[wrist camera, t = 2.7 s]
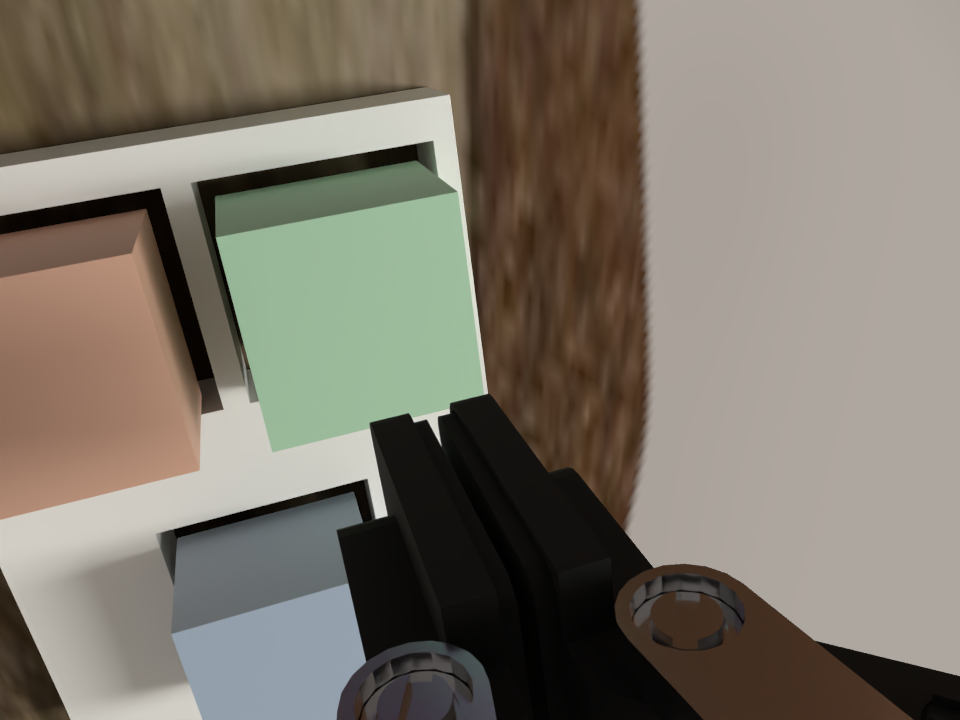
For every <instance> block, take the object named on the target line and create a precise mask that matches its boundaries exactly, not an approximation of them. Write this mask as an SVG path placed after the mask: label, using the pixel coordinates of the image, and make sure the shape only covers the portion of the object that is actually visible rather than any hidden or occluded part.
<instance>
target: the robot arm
mask: <svg viewBox="0 0 960 720" xmlns="http://www.w3.org/2000/svg"><path fill="white" fill-rule="evenodd" d="M438 428H439V434H440V441H441V445H440V443H439V441H438V439H437V437H436V435H435V434H434V432H433V430H432V428H431V426H430V424H429V422H428V421H427V419H426V420H422V421H418V422H414V421H413V419H412V417H411V415H410V414H409V413H407V414H403V415H399V416H394V417H390V418H386V419H382V420H378V421H374V422H370V431H371V437H372V442H373V447H374V451H375V456H376V461H377V466H378V471H379V476H380V481H381V486H382V491H383V496H384V501H385V505H386V510H387V515H388V516H386V517H382V518H378V519H374V520H371V521H367V522H363V523H360V524H356V525H352V526H348V527H345V528H341V529H337V530H336V531H337V536H338V540H339V544H340V549H341V553H342V558H343V562H344V567H345V571H346V575H347V580H348V584H349V589H350V593H351V598H352V602H353V606H354V611H355V615H356V620H357V624H358V628H359V633H360V637H361V642H362V646H363V651H364V655H365V659H366V663H365V664H364V665H363V666H361V667H360V668H359V669H358V670H357V671H356V672H355V673H354V674H353V675H352V676H351V678H350V679H349V681H348V683H347V684H346V686H345V688H344V689H343V691H342V692H341V696H340V701H339V705H338V709H337V720H960V676H957V675H953V674H949V673H944V672H940V671H936V670H932V669H928V668H924V667H920V666H916V665H912V664H908V663H904V662H900V661H895V660H891V659H887V658H883V657H879V656H874V655H871V654H867V653H863V652H859V651H854V650H850V649H846V648H842V647H838V646H834V645H830V644H825V643H821V642H818V641H814V640H813V639H812V638H811V637H809V636H808V635H807V634H806V633H804V632H803V631H802V630H800V629H799V628H798V627H797V626H796V625H794V624H793V623H792V622H791V621H789V620H788V619H787V618H786V617H784V616H783V615H782V614H781V613H779V612H778V611H777V610H776V609H774V608H773V607H771V606H770V605H769V604H768V603H767V602H766V601H764V600H763V599H762V598H761V597H759V596H758V595H757V594H756V593H754V592H753V591H752V590H750V589H749V588H748V587H747V586H746V585H744V584H743V583H741V582H740V581H738V580H736V579H735V578H733V577H731V576H730V575H728V574H727V573H724V572H721V571H718V570H715V569H712V568H709V567H706V566H698V565H690V564H675V565H663V566H660V567H657V568H653V567H652V565H651V564H650V563H649V562H648V560H647V559H646V558H645V557H644V555H643V554H642V553H641V552H640V550H639V549H638V548H637V547H636V545H635V544H634V543H633V542H632V540H631V539H630V538H629V537H628V535H627V534H626V533H625V532H624V530H623V529H622V528H621V527H620V525H619V524H618V523H617V522H616V520H615V519H614V518H613V517H612V516H611V514H610V513H609V512H608V511H607V509H606V508H605V507H604V506H603V504H602V503H601V502H600V501H599V499H598V498H597V497H596V496H595V494H594V493H593V492H592V491H591V489H590V488H589V487H588V486H587V484H586V483H585V482H584V481H583V479H582V478H581V477H580V476H579V474H578V473H577V472H576V471H575V470H574V469H572V468H564V469H560V470H557V471H553V472H549V473H548V472H547V470H546V469H545V468H544V466H543V465H542V464H541V462H540V461H539V459H538V458H537V457H536V455H535V454H534V453H533V451H532V450H531V449H530V447H529V446H528V445H527V443H526V442H525V440H524V439H523V438H522V436H521V435H520V434H519V432H518V431H517V430H516V428H515V427H514V426H513V424H512V423H511V421H510V420H509V419H508V417H507V416H506V415H505V413H504V412H503V411H502V409H501V408H500V407H499V405H498V404H497V402H496V401H495V400H494V398H493V397H492V396H491V395H490V394H485V395H481V396H477V397H473V398H468V399H464V400H460V401H456V402H452V403H450V414H446V415H442V416H438Z"/></svg>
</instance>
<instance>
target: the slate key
mask: <svg viewBox="0 0 960 720" xmlns="http://www.w3.org/2000/svg"><path fill="white" fill-rule="evenodd" d="M360 523H363V522H362V518H361V515H360V511H359V508H358V505H357V501H356V498H355V494H354V492H350V493H346V494H343V495H339V496H335V497H331V498H327V499H324V500H320V501H316V502H312V503H308V504H305V505H301V506H297V507H293V508H289V509H286V510H282V511H278V512H274V513H270V514H267V515H263V516H259V517H255V518H251V519H248V520H244V521H240V522H236V523H232V524H229V525H225V526H221V527H217V528H213V529H210V530H206V531H202V532H198V533H194V534H191V535H187V536H183V537H179V538H177V552H176V567H175V582H174V597H173V613H172V628H171V635H172V638H173V641H174V644H175V646H176V649H177V652H178V654H179V657H180V660H181V663H182V665H183V668H184V671H185V674H186V676H187V679H188V682H189V684H190V687H191V690H192V693H193V695H194V698H195V701H196V703H197V706H198V709H199V712H200V714H201V717H202V720H337V709H338V705H339V701H340V696H341V692H342V691H343V689H344V688H345V686H346V684H347V683H348V681H349V679H350V678H351V676H352V675H353V674H354V673H355V672H356V671H357V670H358V669H359V668H360V667H361V666H363V665H364V664H365V663H366V659H365V655H364V651H363V646H362V642H361V637H360V633H359V628H358V624H357V620H356V615H355V611H354V606H353V602H352V598H351V593H350V589H349V584H348V580H347V575H346V571H345V567H344V562H343V558H342V553H341V549H340V544H339V540H338V536H337V531H336V530H337V529H341V528H345V527H348V526H352V525H356V524H360Z"/></svg>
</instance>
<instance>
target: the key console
mask: <svg viewBox="0 0 960 720" xmlns="http://www.w3.org/2000/svg"><path fill="white" fill-rule="evenodd" d="M411 144H416V148H417V155H418V162H419V163H420V164H422V165H423V166H424V167H426V168H427V169H428V170H430V171H431V172H432V173H434V174H435V175H436V176H438V177H439V178H440V179H442V180H443V181H444V182H446V183H447V184H448V185H450V186H451V187H452V188H454V189H455V190H456V191H458V196H459V204H460V212H461V220H462V227H463V235H464V243H465V251H466V258H467V266H468V274H469V281H470V289H471V297H472V305H473V312H474V320H475V328H476V335H477V343H478V351H479V359H480V366H481V374H482V382H483V390H484V395H485V394H488V391H487V383H486V376H485V368H484V360H483V352H482V344H481V336H480V328H479V321H478V313H477V305H476V297H475V289H474V281H473V273H472V266H471V258H470V250H469V242H468V234H467V226H466V218H465V211H464V203H463V195H462V187H461V179H460V171H459V163H458V156H457V148H456V140H455V132H454V124H453V116H452V108H451V101H450V95H449V94H447V93H444V92H441V91H439V90H436V89H433V88H431V87H423V88H417V89H410V90H404V91H398V92H392V93H385V94H379V95H373V96H366V97H360V98H354V99H347V100H341V101H335V102H329V103H322V104H316V105H310V106H303V107H297V108H291V109H284V110H278V111H272V112H266V113H259V114H253V115H247V116H240V117H234V118H228V119H221V120H215V121H209V122H203V123H196V124H190V125H184V126H177V127H171V128H165V129H158V130H152V131H146V132H140V133H133V134H127V135H121V136H114V137H108V138H102V139H95V140H89V141H83V142H77V143H70V144H64V145H58V146H51V147H45V148H39V149H32V150H26V151H20V152H14V153H7V154H1V155H0V216H2V215H8V214H13V213H19V212H25V211H31V210H36V209H42V208H48V207H54V206H60V205H65V204H71V203H77V202H83V201H88V200H94V199H100V198H106V197H111V196H117V195H123V194H129V193H134V192H140V191H146V190H152V189H157V188H160V189H161V192H162V196H163V199H164V203H165V206H166V210H167V213H168V217H169V220H170V224H171V227H172V231H173V234H174V238H175V241H176V245H177V248H178V252H179V255H180V259H181V262H182V266H183V269H184V273H185V276H186V280H187V283H188V286H189V290H190V293H191V297H192V300H193V304H194V307H195V311H196V314H197V318H198V321H199V325H200V328H201V332H202V335H203V339H204V342H205V346H206V349H207V353H208V356H209V360H210V363H211V367H212V370H213V374H214V377H213V378H208V379H204V380H200V381H198V384H199V388H200V391H201V394H202V400H201V437H200V471H196V472H192V473H188V474H183V475H179V476H175V477H171V478H167V479H163V480H159V481H155V482H151V483H147V484H143V485H139V486H135V487H131V488H127V489H123V490H119V491H115V492H111V493H107V494H103V495H99V496H95V497H91V498H87V499H82V500H78V501H74V502H70V503H66V504H62V505H58V506H54V507H50V508H46V509H42V510H38V511H34V512H30V513H26V514H22V515H18V516H14V517H10V518H6V519H2V520H0V568H1V570H2V572H3V574H4V577H5V579H6V581H7V583H8V585H9V587H10V589H11V592H12V594H13V596H14V598H15V600H16V602H17V605H18V607H19V609H20V611H21V613H22V615H23V617H24V620H25V622H26V624H27V626H28V628H29V630H30V633H31V635H32V637H33V639H34V641H35V643H36V646H37V648H38V650H39V652H40V654H41V656H42V658H43V661H44V663H45V665H46V667H47V669H48V671H49V674H50V676H51V678H52V680H53V682H54V684H55V687H56V689H57V691H58V693H59V695H60V697H61V699H62V702H63V704H64V706H65V708H66V710H67V712H68V715H69V717H70V719H71V720H202V717H201V714H200V712H199V709H198V706H197V703H196V701H195V698H194V695H193V693H192V690H191V687H190V684H189V682H188V679H187V676H186V674H185V671H184V668H183V665H182V663H181V660H180V657H179V654H178V652H177V649H176V646H175V644H174V641H173V638H172V635H171V628H172V613H173V597H174V582H175V567H176V552H177V539H176V536H175V533H174V530H173V529H176V528H180V527H184V526H187V525H191V524H195V523H199V522H203V521H207V520H210V519H214V518H218V517H222V516H226V515H230V514H233V513H237V512H241V511H245V510H249V509H253V508H256V507H260V506H264V505H268V504H272V503H276V502H279V501H283V500H287V499H291V498H295V497H299V496H302V495H306V494H310V493H314V492H318V491H322V490H326V489H329V488H333V487H337V486H341V485H345V484H349V483H352V482H356V481H360V480H364V485H365V489H366V494H367V499H368V503H369V508H370V513H371V518H372V520H374V519H378V518H382V517H386V516H388V515H387V510H386V505H385V501H384V496H383V491H382V486H381V481H380V476H379V471H378V466H377V461H376V456H375V451H374V447H373V442H372V437H371V431H370V428H369V429H365V430H361V431H357V432H353V433H349V434H345V435H341V436H337V437H333V438H329V439H325V440H321V441H317V442H313V443H309V444H305V445H301V446H297V447H293V448H288V449H284V450H280V451H276V452H272V449H271V445H270V441H269V437H268V434H267V430H266V426H265V422H264V418H263V415H262V411H261V407H260V403H259V400H258V396H257V392H256V388H255V384H254V381H253V377H252V373H251V369H249V370H247V369H246V365H245V361H244V358H243V354H242V350H241V346H240V343H239V339H238V335H237V331H236V328H235V324H234V320H233V316H232V313H231V309H230V305H229V301H228V298H227V294H226V290H225V286H224V283H223V279H222V275H221V271H220V268H219V264H218V260H217V256H216V253H215V249H214V245H213V241H212V238H211V234H210V230H209V226H208V223H207V219H206V215H205V211H204V208H203V204H202V200H201V196H200V192H199V189H198V185H197V182H198V181H204V180H209V179H215V178H221V177H227V176H232V175H238V174H244V173H250V172H255V171H261V170H267V169H273V168H278V167H284V166H290V165H296V164H301V163H307V162H313V161H319V160H325V159H330V158H336V157H342V156H348V155H353V154H359V153H365V152H371V151H376V150H382V149H388V148H394V147H399V146H405V145H411ZM446 414H450V409H446V410H442V411H438V412H434V413H430V414H426V415H422V416H418V417H414V418H412V419H413V421H414V422H418V421H422V420H426V419H427V421H428V422H429V424H430V426H431V428H432V430H433V432H434V434H435V435H436V437H437V439H438V441H439V443H440V445H441V441H440V434H439V428H438V416H442V415H446Z"/></svg>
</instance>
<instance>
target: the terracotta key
mask: <svg viewBox="0 0 960 720" xmlns="http://www.w3.org/2000/svg"><path fill="white" fill-rule="evenodd" d="M201 400H202V394H201V391H200V388H199V384H198V381H197V377H196V374H195V371H194V367H193V364H192V361H191V357H190V354H189V351H188V347H187V344H186V340H185V337H184V334H183V330H182V327H181V324H180V320H179V317H178V313H177V310H176V307H175V303H174V300H173V297H172V293H171V290H170V287H169V283H168V280H167V276H166V273H165V270H164V266H163V263H162V260H161V256H160V253H159V249H158V246H157V243H156V239H155V236H154V233H153V229H152V226H151V223H150V219H149V216H148V212H147V209H141V210H136V211H130V212H124V213H119V214H113V215H108V216H102V217H96V218H91V219H85V220H79V221H74V222H68V223H63V224H57V225H51V226H46V227H40V228H35V229H29V230H23V231H18V232H12V233H7V234H1V235H0V520H2V519H6V518H10V517H14V516H18V515H22V514H26V513H30V512H34V511H38V510H42V509H46V508H50V507H54V506H58V505H62V504H66V503H70V502H74V501H78V500H82V499H87V498H91V497H95V496H99V495H103V494H107V493H111V492H115V491H119V490H123V489H127V488H131V487H135V486H139V485H143V484H147V483H151V482H155V481H159V480H163V479H167V478H171V477H175V476H179V475H183V474H188V473H192V472H196V471H200V437H201Z"/></svg>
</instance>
